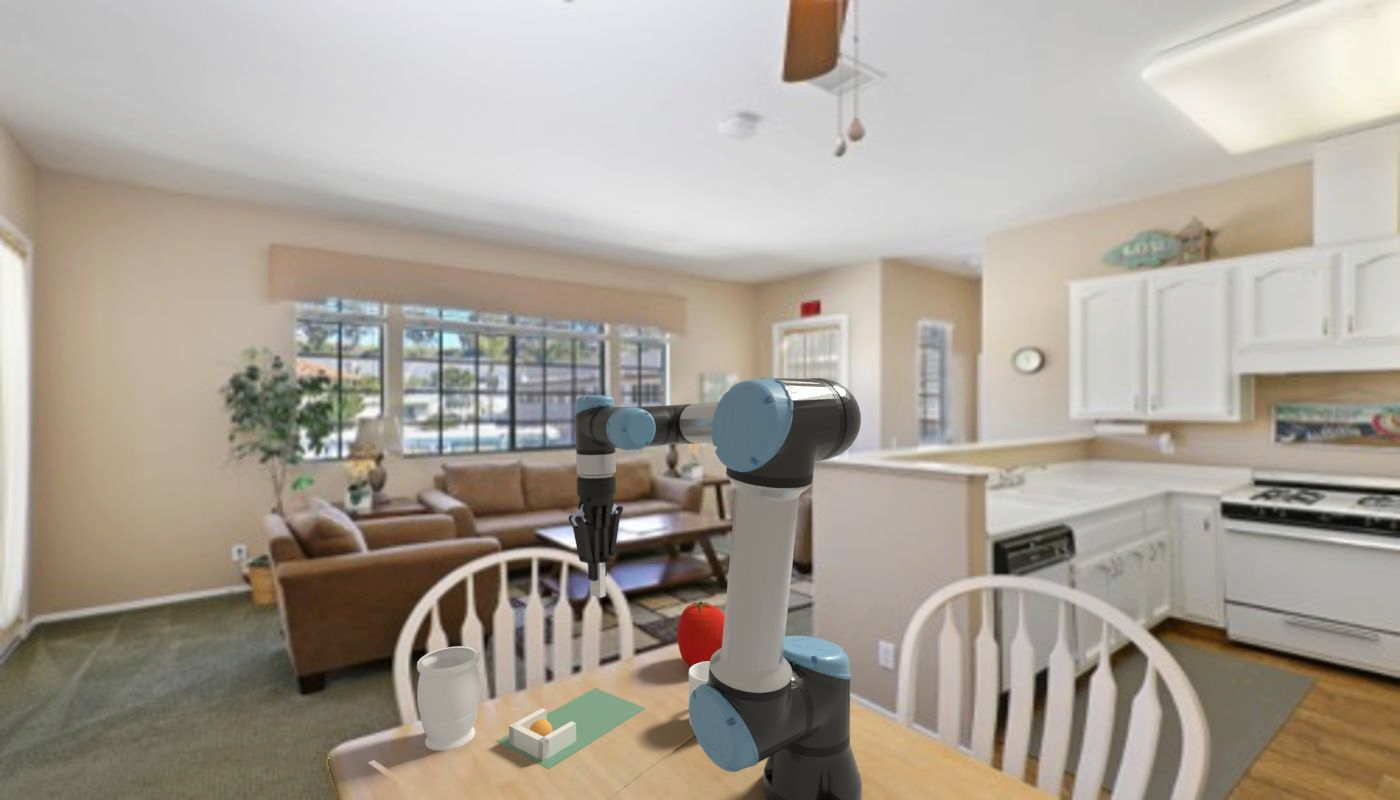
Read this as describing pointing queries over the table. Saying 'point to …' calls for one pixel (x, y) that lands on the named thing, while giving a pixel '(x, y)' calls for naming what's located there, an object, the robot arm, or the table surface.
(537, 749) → the white c-shaped bracket
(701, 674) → the cup
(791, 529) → the robot arm
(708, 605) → the tomato
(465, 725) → the jar
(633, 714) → the putting mat
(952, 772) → the table surface
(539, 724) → the ball
